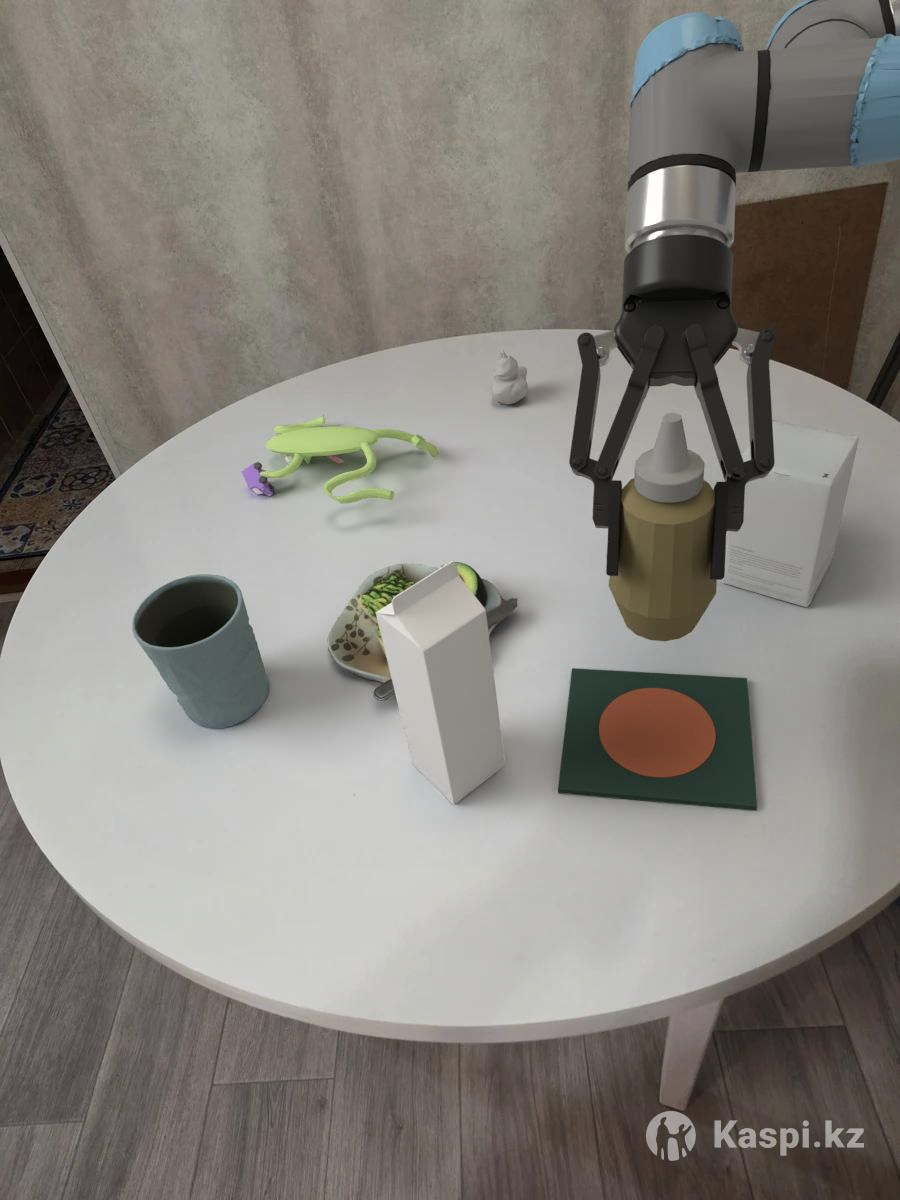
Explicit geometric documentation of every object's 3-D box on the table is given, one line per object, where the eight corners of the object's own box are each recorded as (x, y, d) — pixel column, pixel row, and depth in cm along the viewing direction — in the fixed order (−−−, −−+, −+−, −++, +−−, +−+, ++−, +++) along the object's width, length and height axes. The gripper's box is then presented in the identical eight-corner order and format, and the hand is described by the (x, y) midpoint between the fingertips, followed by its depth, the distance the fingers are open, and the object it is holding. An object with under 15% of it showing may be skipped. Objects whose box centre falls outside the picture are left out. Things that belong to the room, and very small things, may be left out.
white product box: (835, 558, 91) (864, 435, 81) (807, 610, 86) (834, 485, 76) (750, 535, 95) (767, 415, 85) (718, 583, 90) (733, 462, 80)
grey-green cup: (289, 705, 84) (257, 616, 76) (191, 753, 81) (146, 666, 73) (254, 645, 91) (221, 558, 83) (162, 687, 88) (119, 601, 80)
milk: (412, 765, 77) (364, 580, 63) (463, 728, 80) (429, 541, 65) (455, 807, 74) (415, 619, 59) (507, 766, 76) (482, 576, 61)
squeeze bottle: (723, 594, 69) (749, 393, 57) (699, 664, 64) (722, 459, 52) (624, 574, 72) (629, 380, 60) (594, 639, 67) (592, 441, 55)
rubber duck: (482, 404, 123) (476, 352, 118) (511, 384, 126) (507, 332, 121) (511, 414, 120) (507, 361, 115) (540, 393, 123) (538, 341, 118)
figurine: (377, 540, 102) (369, 502, 99) (216, 490, 115) (203, 454, 111) (459, 459, 113) (454, 422, 109) (303, 421, 126) (294, 386, 122)
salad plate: (458, 732, 79) (452, 699, 76) (294, 687, 86) (283, 655, 83) (530, 596, 92) (527, 563, 89) (382, 566, 99) (375, 534, 96)
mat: (746, 682, 80) (747, 676, 79) (756, 810, 70) (757, 805, 69) (572, 672, 83) (572, 667, 83) (558, 793, 73) (557, 788, 73)
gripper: (813, 269, 63) (801, 584, 62) (547, 279, 67) (533, 575, 67) (835, 220, 56) (822, 578, 55) (535, 235, 60) (519, 567, 59)
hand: (664, 575), depth 61 cm, fingers closed on squeeze bottle, 6 cm apart
